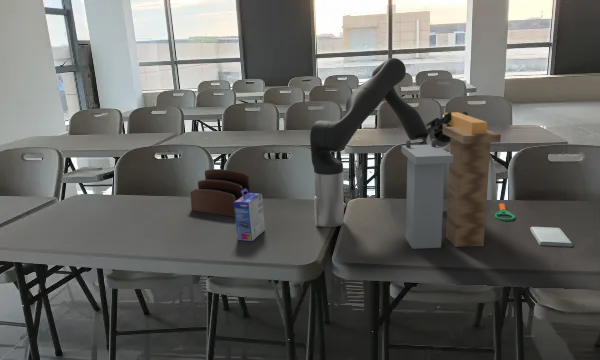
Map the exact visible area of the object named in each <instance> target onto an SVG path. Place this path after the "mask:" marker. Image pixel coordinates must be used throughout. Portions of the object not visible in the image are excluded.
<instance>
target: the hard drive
mask: <svg viewBox="0 0 600 360" xmlns="http://www.w3.org/2000/svg"><path fill="white" fill-rule="evenodd" d="M530 231H531V233H532V235H533V237H534V238H535V240H536V241H537V243H538V244H539V246H549V247H551V246H552V247H569V248H572V247H573V243H572V242H571V240H570V239H569V238H568V237H567V235H566V234H565V233H564V232H563V231H562V229H561V228H560V227H547V226H546V227H545V226H531V227H530Z"/></svg>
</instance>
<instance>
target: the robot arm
mask: <svg viewBox="0 0 600 360" xmlns="http://www.w3.org/2000/svg"><path fill="white" fill-rule="evenodd" d="M406 70H407V69H406V66H405V64H404V62H403V61H402V60H401V59H399V58H396V57H390V58H388V59H386V60H384V61H383V62H382V63H381V64H379V66H377V67H376V68H375V69H373V71H372V74H371V77H370V78H369V79H368V80H366V81H365V82H364V83H362V84H361V85H360V86H358V87H357V88H356V89H355V90H354V91H353V92H352V93H351V94H350V95H349V96H348V98H346V99H347V100H346V103H345V112H346V114H345V115H344V117H342V118H341V119H340V120H326V119H325V120H321V119H319V120H317V121H315V122H314V123H313V124H312V126H311V128H310V132H309V133H310V134H309V141H310V142H309V143H310V155H311V156H310V157H311V163H312V167H313V175H314V176H313V179H314V183H313V184H314V193H313V198H314V199H313V200H314V201H313V203H314V223H315V227H322V228H323V227H324V228H337V227H340V226H342V225H343V224H344V218H345V215H344V214H345V213H344V211H345V210H344V164H343V162H342V161H341V160H339V159H338V158H336V157H335V156H334V155H333V154H332V152H340V151H342V150H343V149H344V148H346V147H347V145H348V144H349V142H350V141H351V139H352V138H353V136H354V135H355V134H356V132H357V131H358V129H359V128H360V127H361V126H362V124H363V123H364V122H365V121H366V119H368V117H369V116H371V114H372V113H374V111H375V110H376V109H377V107H378V106H379V105H380V104H381V103H382V101H383V100H384V99H385V101H386V103H387V104H388V105H389V107H390V108H391V109H392V111H393V112H394V113H395V115H396V117H397V118H398V120H399V122H400V123H401V126H402V127H403V129H404V131H405V133H406V135H407V137H408V140H411V141H416V140H422V141H420V142H419V143H418V144H417V145H431V143H432V139H436V145H437V146H438V147H440V148H442V149H443V150H445V149H446V148H448V146H450V139H451V137H449V136H447V135H445V134H443V128H444V127H453V126H451V125H449V124H448V123H449V122H450V121H451V119H452V117H451V111H450V112H447V113H448V114H446V115H445V114H444V116H442V117H441V118H439V117H436V118H434V119H432V120H431V121H429V122H428V123H426V124H425V123H424V120H423V119H422V116H421V115H420V113H419V112H418V111H417V110H416V109H415V107H413V106H412V105H410V104H409V103H407V102H406V101H405V100H403V99H402V98H401V97H400V96H399V95H398V93H397V91H396V90H395V86H397V85H398V84H399V83H401V82H402V81H403V80H404V78H405V77H406V73H407V71H406ZM462 114H464V115H468V116H469V114H468V112H467V111H463V112H462Z"/></svg>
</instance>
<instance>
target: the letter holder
mask: <svg viewBox="0 0 600 360" xmlns="http://www.w3.org/2000/svg"><path fill="white" fill-rule="evenodd" d="M204 178H205V179H200V180H198V182H197V188H196V189H195V188H194V189H191V190H190V204H191V205H190V207H191V211H193V212H200V213H207V214H213V215H219V216H225V217H232V218H235V209H234V202H235V201H236V200H238V199H239V198H241V197H242V196H243V195H242V193H241V191H242V190H244V189H245V188H246V189H247V190H248V192H249V193H251V187H250V185H251V183H250V177H249V175H248V174H247V173H245V172H241V171H235V170H229V169H218V168H217V169H216V168H215V169H214V168H213V169H212V168H211V169H206V170H205V171H204ZM245 194H247V192H246V191H245V192H244V195H245Z"/></svg>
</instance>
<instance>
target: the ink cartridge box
mask: <svg viewBox="0 0 600 360" xmlns="http://www.w3.org/2000/svg"><path fill="white" fill-rule="evenodd" d="M245 191H246V192H247V194H245V195H244V192H245ZM241 193H242V195H243V196H242V197H241V198H239V199H238V200H236V201H235V202H234V209H235V217H234V218H235V228H236V238H237V241H238V240H239V241H247V242H252V241H255V239H257V238H258V237H259V235H261V234H262V233H263V232H265V231H266V229H265V227H266V226H265V216H264V214H265V213H264V203H263V202H264V200H263V193H256V192H250V193H249V192H248V190H247V189H246V188H245V189H244V190H242V191H241Z"/></svg>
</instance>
